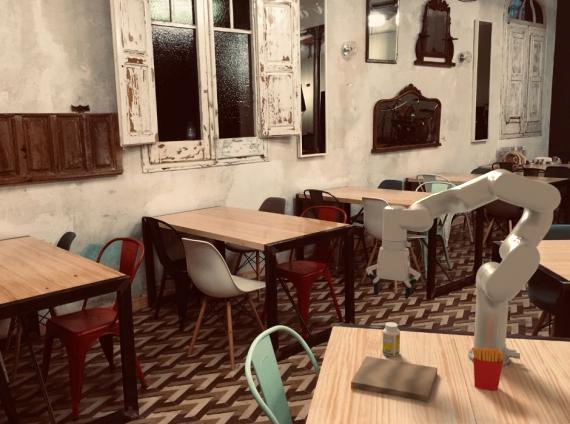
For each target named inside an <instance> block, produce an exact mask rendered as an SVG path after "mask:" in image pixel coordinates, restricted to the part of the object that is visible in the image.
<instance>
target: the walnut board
mask: <svg viewBox="0 0 570 424" xmlns="http://www.w3.org/2000/svg"><path fill="white" fill-rule="evenodd" d="M437 375H438V367H435V366H429V365H423V364H417V363H410V362H403V361H399V360H392V359H386V358H381V357H380V358H379V357H375V356H374V357H373V356H367V355H366V356H365V358H364V360H363V361H362V362H361V364H360V366H359V368H358V369H357V371H356V372H355V374H354V376H353V377H352V379H351V382H350V389H355V390H358V391H359V390H360V391H364V392H370V393H375V394H381V395H386V396H391V397H397V398H401V399H408V400H412V401H418V402H424V403H428V404H429V402H430V399H431V395H432V392H433V389H434V386H435V382H436V378H437Z"/></svg>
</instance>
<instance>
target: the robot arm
mask: <svg viewBox="0 0 570 424" xmlns="http://www.w3.org/2000/svg"><path fill="white" fill-rule="evenodd" d="M561 198H562V197H561V193H560V191H559V189H558V188H557V187H555V186H554V185H552V184H550V183H547V182H546V181H544V180H540V179H531V178H529V177H525V176H523V175H519V174H517V173H514V172H511V171H509V170H507V169H505V168H497V169H494V170H491V171H489V172H487V173H485V174H482V175H480V176H477V177H476V178H473V179H470V180H468V181H466V182H464V183H462V184H460V185H459V184H458V185H457V186H454V187H452V188H449V189H447V190H442V191H439V192H437V193H434V194H431V195H429V196H426V197H425V198H422V199H420V200H418V201H416V202H413V203H412V204H411V205H409V206H408V208H406V207H405V206H403V205H393V204H392V205H391V204H390V205H387V206H385V207H384V208H383V212H382V232H381V233H382V235H381V239H382V240H381V246H380V247H379V251H378V255H377V263H376V264H374V265H371V266H368V267H367V268H366V269H365V270H366V273H367V275H368V277H369V278H370V280H371V281H372V283H373V293H375V296H379V294H380V291H381V290H380V288H381V282H380V279H382V280H391V281H399V282H400V281H401V282H403V283H404V284H405V285H406V286H405V287H404V288H405V293H404V298H405V300H408V299H409V297H411V295H412V286H414V284H416V283H417V282H418V280H419V278H420V277H421V273H420V272H418V271H417V270H416V269H414V268H412V267H411V258H410V252H409V247H411V246H412V242H409V241H408V239H407V234H408V233H407V232H408V231H412V232H417V233H418V232H419V233H423V232H427V231H429V230H430V229H431V228H432V226H433V224H434V220H435V219H436V218H439V217H442V216H445V215H448V214H451V213H452V214H453V213H461V214H462V213H468V212H471V211H474V210H475V209H478V208H480V207H482V206H484V205H487V204H489V203H492V202H494V201H496V200H500V201H502V202H505V203H508V204H510V205H514V206H517V207H519V208H520V207H521V208H523V213H522V215H521V217H520V219H519V221H518V222H517V223H516V225H515V226H514V227H513V229H512V230H511V231H510V232H509V234H508V235H507V237H506V238H505V239H504V240H503V241H502V243H501V245H500V247H499V251H498V253H499V255H500V258H501V262H500V263H499V262H496V261H488V262H486V263H483V264H482V265H481V266H480V267H479V269H478V270H477V272H476V275H475V276H476V277H475V291H476V293H475V294H476V296H475V297H476V299H475V300H476V301H475V302H476V303H475V304H476V305H475V317H474V334H473V335H474V336H473V348H478V347H480V349H481V351H482V350H484V347H486V349H487V348H489V351H490V350H491V349H493V351H494V349H498V352H499V353H501V352H503V357H502V359H503V365H502V367H504V366H506V365H508V364H509V363H510V359H512V358H513V359H517V360H520V359H521V352H517V349H511V348H508V347H507V341H506V340H507V328H508V327H507V326H508V313H509V302H510V301H512V300H513V299H515V297H516V296H517V295H518V294H519V293H520V292H521V290H522V289H523V288H524V286H526V284H527V283H528V282H529V280H530V279H532V276H533V275H534V274H535V272H537V270H538V267H539V266H540V263H541V254H540V251H539V249H538V246H539V245H540V243H541V242H542V241H543V239H544V238H545V236H546V235H547V233H548V232H549V231H550V229H551V226H552V223H553V220H554V211H555V210H556V209H557V208H558V207H559V206H560V203H561V201H562V200H561ZM375 270H376V275H375V274H374V273H373V271H375ZM410 275H413V276H414V277H413V278H412V279H410ZM473 355H474V354H473V350H472V348H470V349H469V350H468V351H467V356H468V358H469V360H471V361H472V362H473Z"/></svg>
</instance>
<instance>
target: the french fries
mask: <svg viewBox="0 0 570 424" xmlns="http://www.w3.org/2000/svg"><path fill="white" fill-rule="evenodd" d="M471 349H472V350H473V354H474V355H473V361H472V362H473V378H474V381H473V382H474V387H475V388H476V389H478V390H484V391H491V392H497V391H498V390H499V385H500V379H501V374H502V369H503V366H502V365H503V359H502V357H503V352H501V353H499V352H498V349H494V351H493V349H491V350H490V351H489V348H487V349H486V347H484V350H482V351H481V349H480V347H478V348H474V347H472V348H471Z"/></svg>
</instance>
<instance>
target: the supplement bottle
mask: <svg viewBox="0 0 570 424" xmlns="http://www.w3.org/2000/svg"><path fill="white" fill-rule="evenodd" d="M398 328H399V324H398V323H396V322H393V321H392V322H391V321H388V322H386V323H385V327H384V329H383V330H382V354H383V355H384V356H386V357H391V358H392V357H398V356H399V355H400V351H401V349H400V346H401V341H400V340H401V331H400V329H398Z"/></svg>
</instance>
